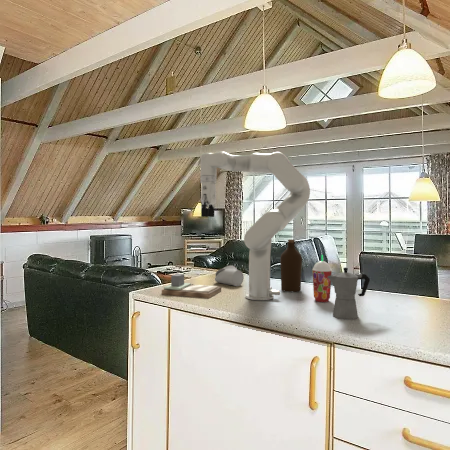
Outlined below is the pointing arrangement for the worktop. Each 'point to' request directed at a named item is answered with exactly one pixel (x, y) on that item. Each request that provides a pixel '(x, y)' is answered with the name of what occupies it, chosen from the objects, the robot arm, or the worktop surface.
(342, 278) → the coffeepot
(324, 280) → the smoothie
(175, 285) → the stub
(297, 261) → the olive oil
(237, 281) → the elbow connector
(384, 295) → the worktop surface
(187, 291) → the ticket board
